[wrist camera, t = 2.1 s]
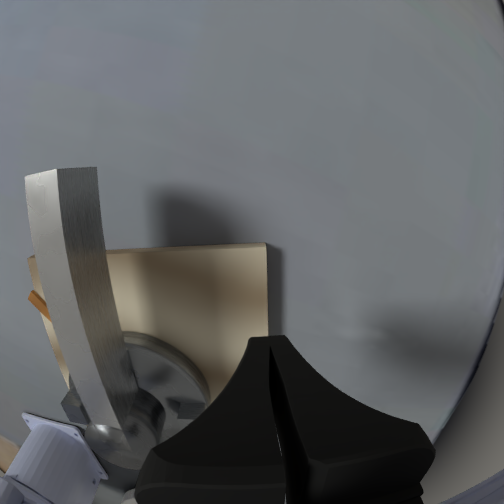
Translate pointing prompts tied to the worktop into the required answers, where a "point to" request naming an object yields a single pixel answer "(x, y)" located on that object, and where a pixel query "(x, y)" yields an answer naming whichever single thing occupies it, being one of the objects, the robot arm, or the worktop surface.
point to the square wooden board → (185, 301)
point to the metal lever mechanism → (104, 329)
